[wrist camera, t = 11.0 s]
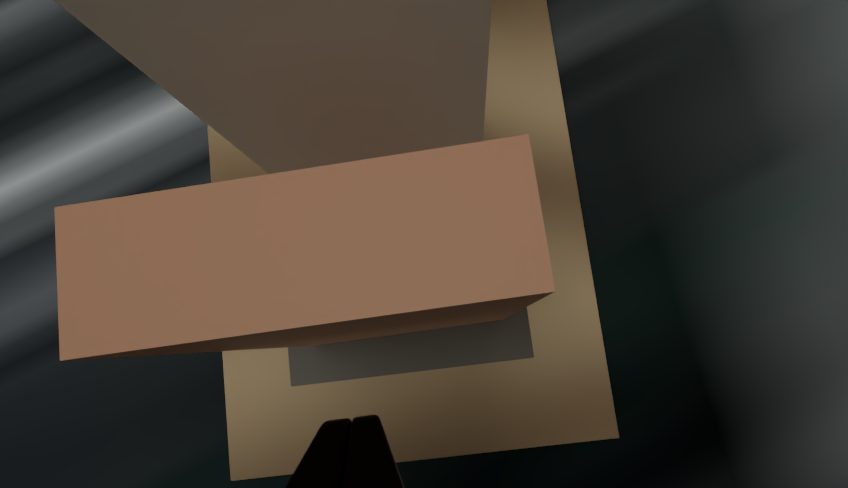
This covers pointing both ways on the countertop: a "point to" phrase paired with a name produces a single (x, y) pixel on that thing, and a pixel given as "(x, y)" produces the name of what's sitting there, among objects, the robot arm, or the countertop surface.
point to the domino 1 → (311, 71)
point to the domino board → (452, 346)
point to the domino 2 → (305, 255)
